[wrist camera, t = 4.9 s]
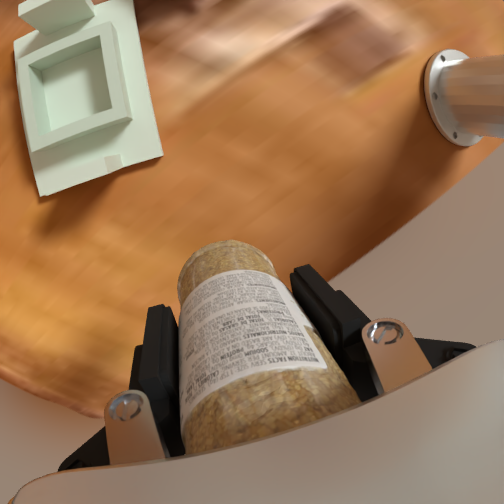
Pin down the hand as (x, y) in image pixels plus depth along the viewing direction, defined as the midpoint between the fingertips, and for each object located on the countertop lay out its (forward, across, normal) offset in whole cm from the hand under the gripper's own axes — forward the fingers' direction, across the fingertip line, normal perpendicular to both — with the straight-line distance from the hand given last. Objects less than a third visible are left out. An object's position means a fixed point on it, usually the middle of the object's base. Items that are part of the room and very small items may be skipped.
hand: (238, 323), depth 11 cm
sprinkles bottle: (+4, 0, 0) cm, 4 cm away
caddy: (+19, +8, -14) cm, 25 cm away
